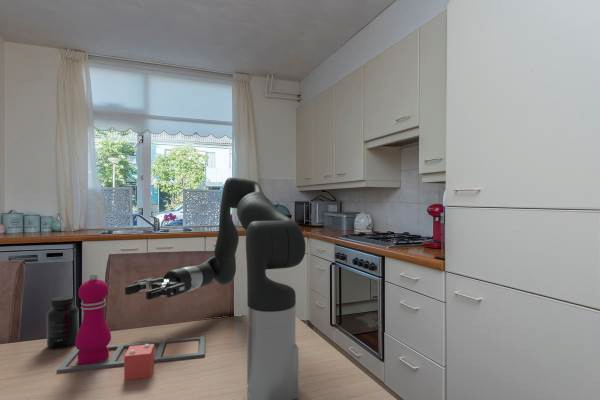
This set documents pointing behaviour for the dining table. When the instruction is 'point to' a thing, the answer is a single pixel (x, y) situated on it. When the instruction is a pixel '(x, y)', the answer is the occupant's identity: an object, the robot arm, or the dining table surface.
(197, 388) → the dining table surface
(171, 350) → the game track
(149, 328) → the dining table surface
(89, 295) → the pepper mill
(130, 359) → the die
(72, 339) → the supplement bottle
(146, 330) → the dining table surface
